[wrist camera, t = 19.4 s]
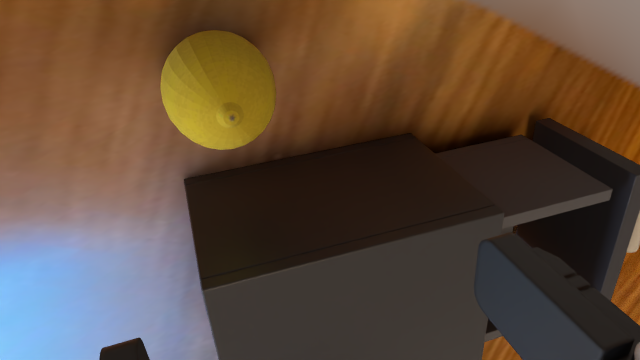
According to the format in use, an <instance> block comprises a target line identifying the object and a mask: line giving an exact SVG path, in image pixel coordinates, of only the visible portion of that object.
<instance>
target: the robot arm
mask: <svg viewBox="0 0 640 360" xmlns="http://www.w3.org/2000/svg"><path fill="white" fill-rule="evenodd" d="M474 293H475V297H476V300H477V303H478V305H479V307H480V308H481V310H482V311H483V312H484V314H485V315H486V316H487V317H488V318H489V320H490V321H491V322H492V323H493V324H494V326H495V327H496V328H497V329H498V330H499V332H500V333H501V334H502V335H503V336H504V338H505V339H506V340H507V341H508V342H509V344H510V345H511V346H512V347H513V348H514V350H515V351H516V352H517V353H518V354H519V355H520V357H521V358H522V359H523V360H640V326H639V325H638V324H637V323H636V322H634V321H633V320H632V319H631V318H630V317H629V316H627V315H626V314H625V313H624V312H623V311H621V310H620V309H619V308H618V307H617V306H616V305H614V304H613V303H612V302H611V301H610V300H609V299H607V298H606V297H605V296H604V295H603V294H601V293H600V292H599V291H598V290H597V289H596V288H592V287H591V284H590V283H589V282H587V281H586V280H585V279H584V278H583V277H581V276H580V275H579V276H578V275H577V273H576V271H574V270H573V269H572V268H571V267H570V266H569V265H567V264H566V263H565V262H564V261H563V260H562V259H560V258H559V257H557V256H555V255H553V254H551V253H549V252H547V251H545V250H542V249H540V248H538V247H535V248H531V247H530V246H529V245H528V244H527V243H525V242H524V241H523V240H522V239H521V238H520V237H519V236H517V235H516V234H514V233H506V234H502V235H499V236H495V237H492V238H488V239H485V240H482V241H481V242H480V244H479V247H478V254H477V263H476V271H475V280H474ZM100 360H150V359H149V357H148V354H147V352H146V349H145V346H144V344H143V342H142V340H141V338H136V339H132V340H129V341H125V342H122V343H118V344H115V345H111V346H108V347H104V348H102V349H101V352H100Z"/></svg>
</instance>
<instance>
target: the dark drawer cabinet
mask: <svg viewBox="0 0 640 360" xmlns="http://www.w3.org/2000/svg"><path fill="white" fill-rule="evenodd" d="M184 185H185V191H186V197H187V203H188V210H189V216H190V222H191V228H192V234H193V241H194V247H195V253H196V259H197V265H198V271H199V278H200V284H201V290H202V294H203V298H204V302H205V306H206V310H207V314H208V318H209V322H210V326H211V331H212V335H213V339H214V343H215V347H216V351H217V355H218V359H219V360H482V354H483V348H484V341H485V335H486V328H487V322H488V317H487V316H486V315H485V314H484V312H483V311H482V310H481V308H480V307H479V305H478V303H477V300H476V297H475V293H474V280H475V271H476V263H477V254H478V247H479V244H480V242H481V241H482V240H485V239H488V238H492V237H495V236H499V235H501V232H502V226H503V219H504V212H503V211H502V210H501V209H500V208H499V207H498V206H496V205H495V204H494V203H493V202H492V201H491V200H489V199H488V198H487V197H486V196H485V195H483V194H482V193H481V192H480V191H479V190H477V189H476V188H475V187H474V186H473V185H472V184H470V183H469V182H468V181H467V180H466V179H464V178H463V177H462V176H461V175H460V174H458V173H457V172H456V171H455V170H454V169H453V168H451V167H450V166H449V165H448V164H447V163H445V162H444V161H443V160H442V159H441V158H439V157H438V156H437V155H436V154H435V153H434V152H432V151H431V150H430V149H429V148H428V147H426V146H425V145H424V144H423V143H422V142H420V141H419V140H418V139H417V138H416V137H415V136H413V135H412V134H411V133H409V134H404V135H400V136H395V137H390V138H385V139H380V140H375V141H370V142H365V143H360V144H355V145H351V146H346V147H341V148H336V149H331V150H326V151H321V152H316V153H311V154H306V155H301V156H297V157H292V158H287V159H282V160H277V161H272V162H267V163H262V164H257V165H252V166H248V167H243V168H238V169H233V170H228V171H223V172H218V173H213V174H208V175H203V176H199V177H194V178H189V179H184Z"/></svg>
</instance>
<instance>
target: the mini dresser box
mask: <svg viewBox="0 0 640 360" xmlns="http://www.w3.org/2000/svg"><path fill="white" fill-rule="evenodd" d="M435 154H436V155H437V156H438V157H439V158H441V159H442V160H443V161H444V162H445V163H447V164H448V165H449V166H450V167H451V168H453V169H454V170H455V171H456V172H457V173H458V174H460V175H461V176H462V177H463V178H464V179H466V180H467V181H468V182H469V183H470V184H472V185H473V186H474V187H475V188H476V189H477V190H479V191H480V192H481V193H482V194H483V195H485V196H486V197H487V198H488V199H489V200H491V201H492V202H493V203H494V204H495V205H496V206H498V207H499V208H500V209H501V210H502V211H503V212H504V219H503V226H502V232H501V235H502V234H506V233H512V232H513V226H515V225H518V226H517V232H516V235H517V236H519V237H520V238H521V239H522V240H523V241H524V242H525V243H527V244H528V245H529V246H530V247H531V248H535V247H538V248H540V249H542V250H545V251H547V252H549V253H551V254H553V255H555V256H557V257H559V258H560V259H562V260H563V261H564V262H565V263H566V264H567V265H569V266H570V267H571V268H572V269H573V270H574V271H576V273H577V275H578V276H579V275H580V276H581V277H583V278H584V279H585V280H586V281H587V282H589V283H590V284H591V287H592V288H596V289H597V290H598V291H599V292H600V293H601V294H603V295H604V296H605V297H606V298H607V299H609V300H610V301H611V298H612V295H613V292H614V289H615V286H616V283H617V279H618V276H619V273H620V270H621V267H622V264H623V261H624V258H625V255H626V252H630V253H631V252H635V251H637V250H638V247H639V244H640V165H639V164H637V163H635V162H633V161H631V160H629V159H627V158H625V157H623V156H621V155H619V154H617V153H615V152H614V151H612V150H610V149H608V148H606V147H604V146H602V145H600V144H598V143H596V142H594V141H592V140H590V139H589V138H587V137H585V136H583V135H581V134H579V133H577V132H575V131H573V130H571V129H569V128H567V127H565V126H564V125H562V124H560V123H558V122H556V121H554V120H552V119H550V118H547V119H542V120H538V121H536V123H535V129H534V134H533V140H530V139H528V138H526V137H525V136H523V135H518V136H513V137H508V138H504V139H499V140H495V141H490V142H485V143H481V144H476V145H472V146H467V147H463V148H458V149H453V150H449V151H444V152H440V153H435ZM501 336H503V335H502V334H501V333H500V332H499V330H498V329H497V328H496V327H495V326H494V324H493V323H492V322H491V321H490V320H489V318H488V322H487V328H486V335H485V341H484V342H486V341H489V340H492V339H495V338H498V337H501Z"/></svg>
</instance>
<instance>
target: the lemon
mask: <svg viewBox="0 0 640 360" xmlns="http://www.w3.org/2000/svg"><path fill="white" fill-rule="evenodd" d="M160 88H161V94H162V100H163V104H164V107H165V109H166V111H167V113H168V116H169V118H170V119H171V121H172V122H173V123H174V124H175V126H176V127H177V128H178V129H179V131H180V132H181V133H182V134H184V135H185V136H186V137H188V138H189V139H191V140H192V141H193V142H195V143H197V144H200V145H202V146H204V147H207V148H213V149H219V150H224V149H234V148H237V147H240V146H244V145H246V144H247V143H249V142H251V141H253V140H254V139H255V138H257V137H258V136H259V135H260V134H261V133H262V132H263V131H264V129H265V128H266V126H267V125H268V123H269V122H270V120H271V117H272V114H273V111H274V109H275V100H276V88H275V82H274V76H273V73H272V71H271V69H270V67H269V64H268V62H267V60H266V59H265V57H264V56H263V55H262V54H261V53H260V51H259V50H258V49H257V48H256V47H255V46H254V45H253V44H251V43H250V42H249V41H247V40H246V39H244V38H243V37H241V36H238V35H236V34H233V33H231V32H227V31H219V30H210V31H202V32H198V33H196V34H193V35H191V36H188V37H187V38H185V39H184V40H183V41H181V42H180V43H179V44H178V45H176V47H175V48H174V49H173V51H172V52H171V53H170V55H169V56H168V58H167V60H166V62H165V65H164V67H163V70H162V76H161V85H160Z"/></svg>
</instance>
